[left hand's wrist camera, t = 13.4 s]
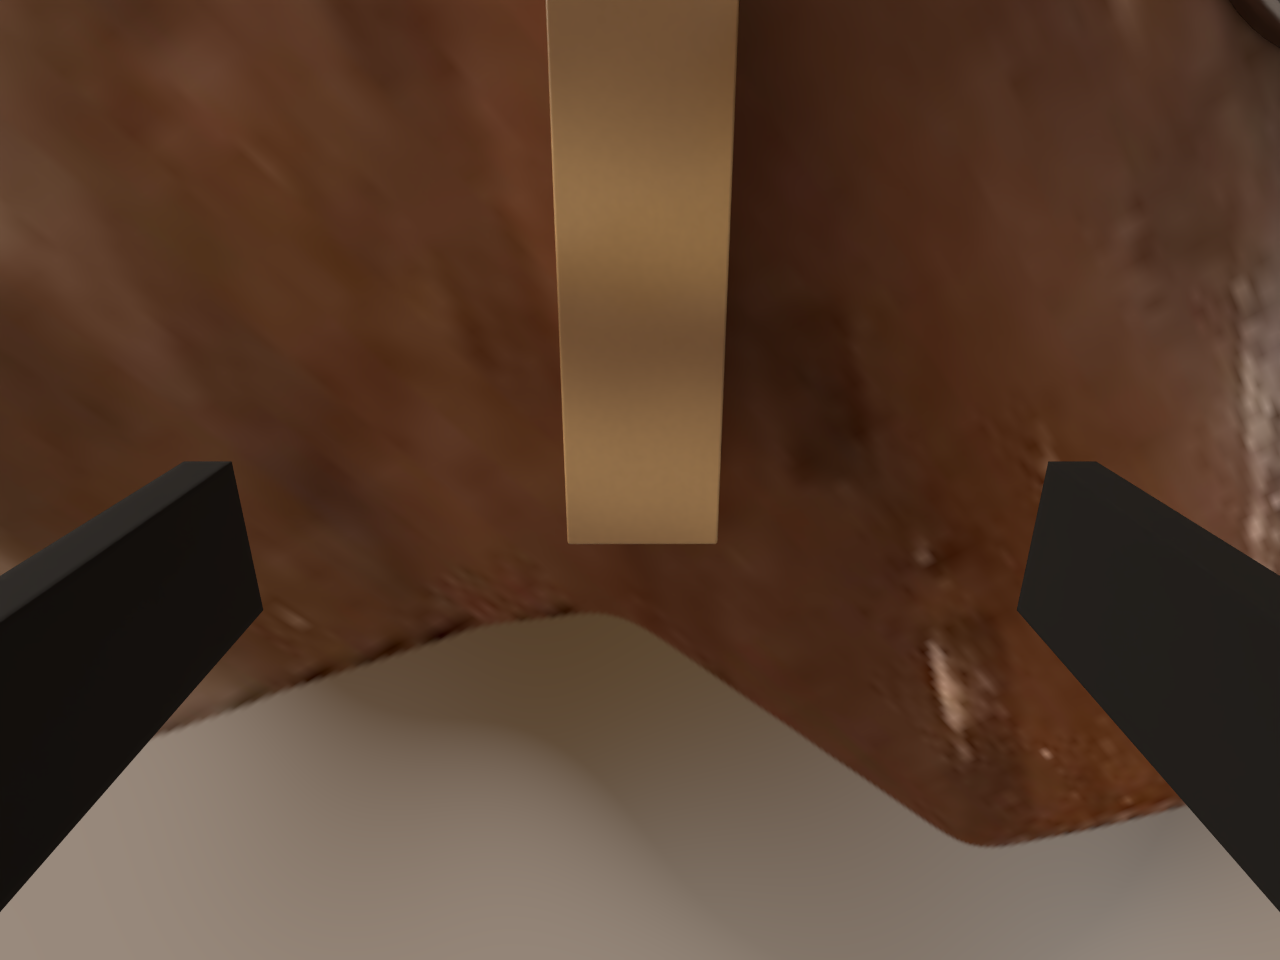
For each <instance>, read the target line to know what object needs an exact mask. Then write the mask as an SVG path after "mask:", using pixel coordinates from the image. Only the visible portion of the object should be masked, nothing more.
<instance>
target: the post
mask: <svg viewBox="0 0 1280 960" xmlns="http://www.w3.org/2000/svg"><path fill="white" fill-rule="evenodd" d="M545 2H546V26H547V51H548V75H549V100H550V124H551V149H552V173H553V198H554V222H555V247H556V271H557V296H558V320H559V345H560V369H561V394H562V418H563V443H564V467H565V492H566V516H567V541H568V544H716V543H717V540H718V515H719V491H720V466H721V441H722V417H723V392H724V367H725V343H726V318H727V293H728V268H729V244H730V219H731V194H732V170H733V145H734V120H735V96H736V71H737V46H738V22H739V0H545Z"/></svg>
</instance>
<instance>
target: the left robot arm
mask: <svg viewBox="0 0 1280 960" xmlns="http://www.w3.org/2000/svg"><path fill="white" fill-rule="evenodd" d="M1230 2H1231V3H1232V5H1233V6H1234V7H1235V9H1236V10H1237V12H1238V13H1239V14H1240V15H1241V16H1242V17H1243V18H1244V20H1245V21H1246V22H1247V23H1248V24H1249V25H1250V26H1251V27H1252V28H1253V29H1254V30H1256V31H1257V32H1258V33H1259V34H1261V35H1262V36H1263V37H1264V38H1265V39H1267V40H1269V41H1270V42H1272V43H1273V44H1275V45H1277V46H1278V47H1280V0H1230ZM262 611H263V607H262V602H261V597H260V593H259V588H258V583H257V579H256V574H255V569H254V565H253V560H252V555H251V550H250V546H249V541H248V536H247V532H246V527H245V522H244V518H243V513H242V508H241V504H240V499H239V494H238V489H237V485H236V480H235V475H234V471H233V466H232V462H182V463H181V464H179V465H178V466H176V467H174V468H173V469H171V470H170V471H168V472H166V473H165V474H163V475H162V476H160V477H158V478H157V479H155V480H154V481H152V482H150V483H149V484H147V485H146V486H144V487H142V488H141V489H139V490H138V491H136V492H134V493H133V494H131V495H129V496H128V497H126V498H125V499H123V500H121V501H120V502H118V503H117V504H115V505H113V506H112V507H110V508H109V509H107V510H105V511H104V512H102V513H101V514H99V515H97V516H96V517H94V518H93V519H91V520H89V521H88V522H86V523H85V524H83V525H81V526H80V527H78V528H76V529H75V530H73V531H72V532H70V533H68V534H67V535H65V536H64V537H62V538H60V539H59V540H57V541H56V542H54V543H52V544H51V545H49V546H48V547H46V548H44V549H43V550H41V551H40V552H38V553H36V554H35V555H33V556H31V557H30V558H28V559H27V560H25V561H23V562H22V563H20V564H19V565H17V566H15V567H14V568H12V569H11V570H9V571H7V572H6V573H4V574H3V575H1V576H0V912H1V910H2V909H3V908H4V907H5V906H6V905H7V903H8V902H9V901H10V900H11V899H12V898H13V897H14V895H15V894H16V893H17V892H18V891H19V890H20V889H21V887H22V886H23V885H24V884H25V883H26V882H27V881H28V879H29V878H30V877H31V876H32V875H33V874H34V872H35V871H36V870H37V869H38V868H39V867H40V866H41V864H42V863H43V862H44V861H45V860H46V859H47V858H48V856H49V855H50V854H51V853H52V852H53V851H54V850H55V848H56V847H57V846H58V845H59V844H60V843H61V842H62V840H63V839H64V838H65V837H66V836H67V835H68V833H69V832H70V831H71V830H72V829H73V828H74V827H75V825H76V824H77V823H78V822H79V821H80V820H81V819H82V817H83V816H84V815H85V814H86V813H87V812H88V810H89V809H90V808H91V807H92V806H93V805H94V804H95V802H96V801H97V800H98V799H99V798H100V797H101V796H102V794H103V793H104V792H105V791H106V790H107V789H108V787H109V786H110V785H111V784H112V783H113V782H114V781H115V779H116V778H117V777H118V776H119V775H120V774H121V773H122V771H123V770H124V769H125V768H126V767H127V766H128V765H129V763H130V762H131V761H132V760H133V759H134V758H135V757H136V755H137V754H138V753H139V752H140V751H141V750H142V749H143V747H144V746H145V745H146V744H147V743H148V742H149V741H150V739H151V738H152V737H153V736H154V735H155V734H156V732H157V731H158V730H159V729H160V728H161V727H162V726H163V724H164V723H165V722H166V721H167V720H168V719H169V718H170V716H171V715H172V714H173V713H174V712H175V711H176V710H177V708H178V707H179V706H180V705H181V704H182V703H183V702H184V700H185V699H186V698H187V697H188V696H189V695H190V693H191V692H192V691H193V690H194V689H195V688H196V687H197V685H198V684H199V683H200V682H201V681H202V680H203V679H204V677H205V676H206V675H207V674H208V673H209V672H210V671H211V669H212V668H213V667H214V666H215V665H216V664H217V662H218V661H219V660H220V659H221V658H222V657H223V656H224V654H225V653H226V652H227V651H228V650H229V649H230V648H231V646H232V645H233V644H234V643H235V642H236V641H237V640H238V638H239V637H240V636H241V635H242V634H243V633H244V632H245V630H246V629H247V628H248V627H249V626H250V625H251V623H252V622H253V621H254V620H255V619H256V618H257V617H258V615H259V614H260V613H261V612H262ZM1017 611H1018V612H1019V613H1020V614H1021V615H1022V617H1023V618H1024V619H1025V620H1026V621H1027V622H1028V623H1029V625H1030V626H1031V627H1032V628H1033V629H1034V630H1035V632H1036V633H1037V634H1038V635H1039V636H1040V637H1041V638H1042V640H1043V641H1044V642H1045V643H1046V644H1047V645H1048V646H1049V648H1050V649H1051V650H1052V651H1053V652H1054V653H1055V654H1056V656H1057V657H1058V658H1059V659H1060V660H1061V661H1062V662H1063V664H1064V665H1065V666H1066V667H1067V668H1068V669H1069V671H1070V672H1071V673H1072V674H1073V675H1074V676H1075V677H1076V679H1077V680H1078V681H1079V682H1080V683H1081V684H1082V685H1083V687H1084V688H1085V689H1086V690H1087V691H1088V692H1089V693H1090V695H1091V696H1092V697H1093V698H1094V699H1095V700H1096V702H1097V703H1098V704H1099V705H1100V706H1101V707H1102V708H1103V710H1104V711H1105V712H1106V713H1107V714H1108V715H1109V716H1110V718H1111V719H1112V720H1113V721H1114V722H1115V723H1116V724H1117V726H1118V727H1119V728H1120V729H1121V730H1122V731H1123V732H1124V734H1125V735H1126V736H1127V737H1128V738H1129V739H1130V741H1131V742H1132V743H1133V744H1134V745H1135V746H1136V747H1137V749H1138V750H1139V751H1140V752H1141V753H1142V754H1143V755H1144V757H1145V758H1146V759H1147V760H1148V761H1149V762H1150V763H1151V765H1152V766H1153V767H1154V768H1155V769H1156V770H1157V772H1158V773H1159V774H1160V775H1161V776H1162V777H1163V778H1164V780H1165V781H1166V782H1167V783H1168V784H1169V785H1170V786H1171V788H1172V789H1173V790H1174V791H1175V792H1176V793H1177V794H1178V796H1179V797H1180V798H1181V799H1182V800H1183V801H1184V802H1185V804H1186V805H1187V806H1188V807H1189V808H1190V809H1191V810H1192V812H1193V813H1194V814H1195V815H1196V816H1197V817H1198V818H1199V820H1200V821H1201V822H1202V823H1203V824H1204V825H1205V827H1206V828H1207V829H1208V830H1209V831H1210V832H1211V833H1212V835H1213V836H1214V837H1215V838H1216V839H1217V840H1218V842H1219V843H1220V844H1221V845H1222V846H1223V847H1224V848H1225V850H1226V851H1227V852H1228V853H1229V854H1230V855H1231V856H1232V858H1233V859H1234V860H1235V861H1236V862H1237V863H1238V864H1239V866H1240V867H1241V868H1242V869H1243V870H1244V871H1245V872H1246V874H1247V875H1248V876H1249V877H1250V878H1251V879H1252V881H1253V882H1254V883H1255V884H1256V885H1257V886H1258V887H1259V889H1260V890H1261V891H1262V892H1263V893H1264V894H1265V895H1266V897H1267V898H1268V899H1269V900H1270V901H1271V902H1272V903H1273V905H1274V906H1275V907H1276V908H1277V909H1278V910H1279V911H1280V576H1279V575H1277V574H1276V573H1274V572H1273V571H1271V570H1269V569H1268V568H1266V567H1265V566H1263V565H1261V564H1260V563H1258V562H1257V561H1255V560H1253V559H1252V558H1250V557H1248V556H1247V555H1245V554H1244V553H1242V552H1240V551H1239V550H1237V549H1236V548H1234V547H1232V546H1231V545H1229V544H1228V543H1226V542H1224V541H1223V540H1221V539H1220V538H1218V537H1216V536H1215V535H1213V534H1212V533H1210V532H1208V531H1207V530H1205V529H1204V528H1202V527H1200V526H1199V525H1197V524H1195V523H1194V522H1192V521H1191V520H1189V519H1187V518H1186V517H1184V516H1183V515H1181V514H1179V513H1178V512H1176V511H1175V510H1173V509H1171V508H1170V507H1168V506H1167V505H1165V504H1163V503H1162V502H1160V501H1159V500H1157V499H1155V498H1154V497H1152V496H1151V495H1149V494H1147V493H1146V492H1144V491H1142V490H1141V489H1139V488H1138V487H1136V486H1134V485H1133V484H1131V483H1130V482H1128V481H1126V480H1125V479H1123V478H1122V477H1120V476H1118V475H1117V474H1115V473H1114V472H1112V471H1110V470H1109V469H1107V468H1106V467H1104V466H1102V465H1101V464H1099V463H1098V462H1048V466H1047V471H1046V475H1045V480H1044V485H1043V489H1042V494H1041V499H1040V504H1039V508H1038V513H1037V518H1036V522H1035V527H1034V532H1033V536H1032V541H1031V546H1030V550H1029V555H1028V560H1027V565H1026V569H1025V574H1024V579H1023V583H1022V588H1021V593H1020V597H1019V602H1018V607H1017Z"/></svg>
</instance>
